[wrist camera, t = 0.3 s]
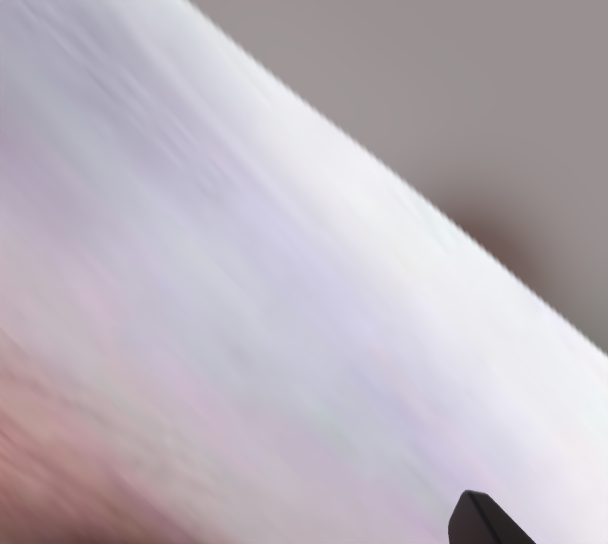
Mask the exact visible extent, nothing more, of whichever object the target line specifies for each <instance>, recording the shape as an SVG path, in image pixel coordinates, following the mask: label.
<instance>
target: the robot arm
mask: <svg viewBox="0 0 608 544" xmlns="http://www.w3.org/2000/svg"><path fill="white" fill-rule="evenodd" d="M448 535H449V543H450V544H536V543H535V542H534V541H533V540H532V539H531V538H530V537H529V536H528V535H527V534H526V533H525V532H524V531H523V530H522V529H521V528H520V527H519V526H518V525H517V524H516V523H515V522H514V521H513V520H512V519H511V517H510V516H509V515H508V514H507V513H506V512H505V511H504V510H503V509H502V508H501V507H500V506H499V505H498V504H497V503H496V502H495V501H494V500H493V499H492V498H491V497H490V496H489V495H488V494H486V493H483V492H478V491H473V490H465V491H464V492H463V493H462V495H461V496H460V499H459V501H458V503H457V505H456V507H455V509H454V511H453V514H452V516H451V518H450V521H449V525H448Z"/></svg>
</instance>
